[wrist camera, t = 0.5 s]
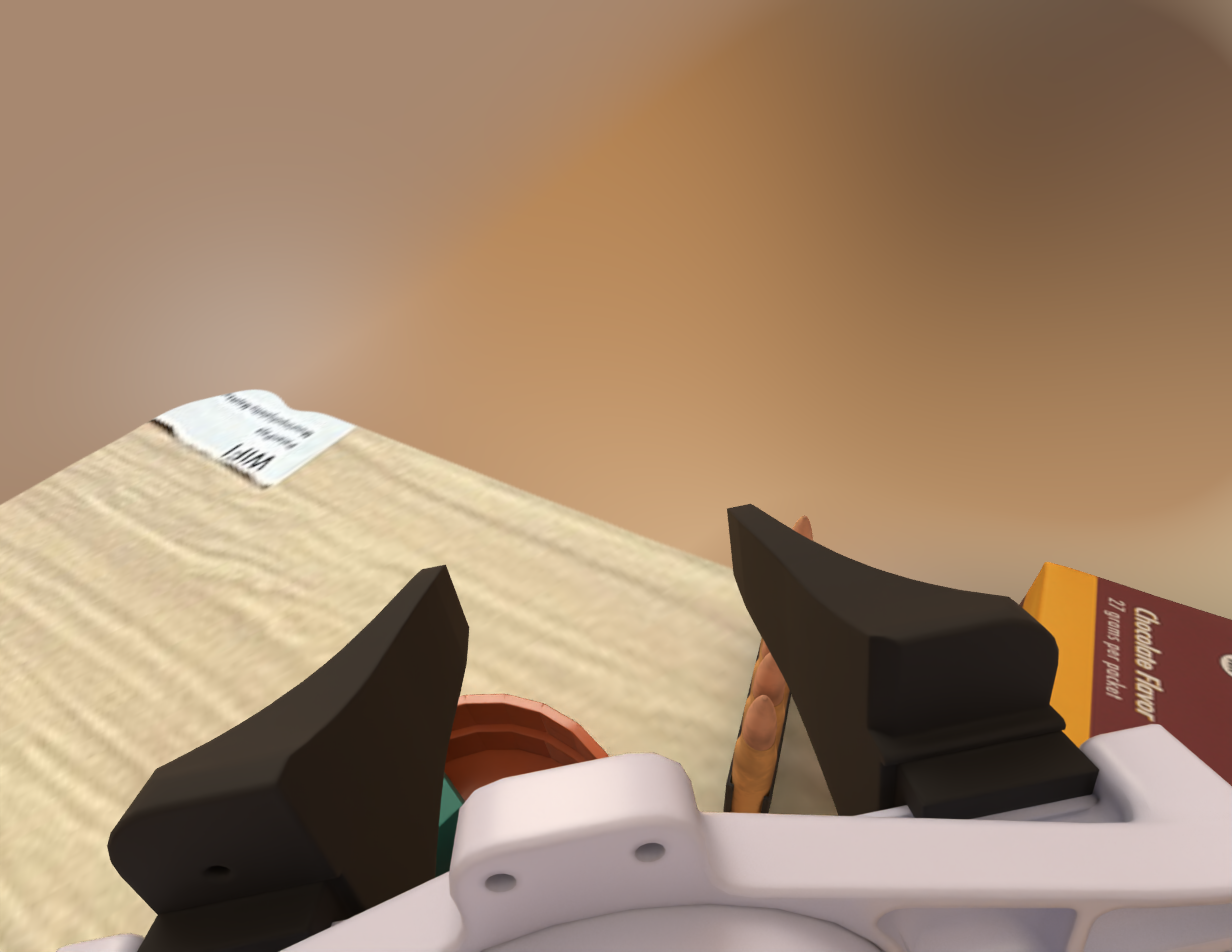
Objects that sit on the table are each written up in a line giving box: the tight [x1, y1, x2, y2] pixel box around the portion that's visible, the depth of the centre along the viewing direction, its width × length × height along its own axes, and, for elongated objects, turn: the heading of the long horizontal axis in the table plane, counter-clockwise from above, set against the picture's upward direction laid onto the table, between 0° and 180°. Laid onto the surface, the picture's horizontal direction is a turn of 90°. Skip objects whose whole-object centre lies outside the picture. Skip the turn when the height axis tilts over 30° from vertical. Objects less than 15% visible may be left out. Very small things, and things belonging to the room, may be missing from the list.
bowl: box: [444, 694, 609, 801], centre depth 24 cm, size 15×15×5 cm
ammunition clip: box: [724, 516, 813, 814], centre depth 26 cm, size 11×2×12 cm, turn 158°
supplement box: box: [1020, 562, 1232, 786], centre depth 17 cm, size 10×15×16 cm
